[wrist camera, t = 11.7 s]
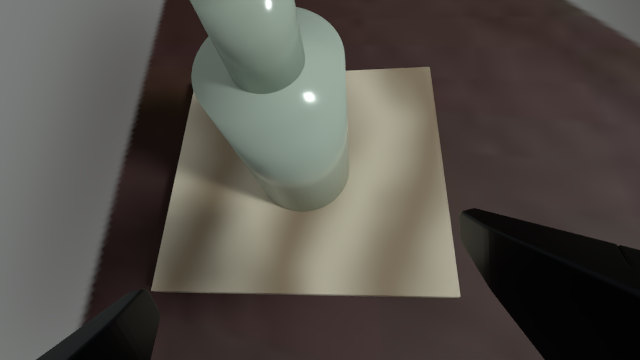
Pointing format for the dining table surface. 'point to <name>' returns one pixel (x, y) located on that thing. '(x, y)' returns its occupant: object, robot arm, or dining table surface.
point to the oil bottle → (277, 96)
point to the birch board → (327, 222)
